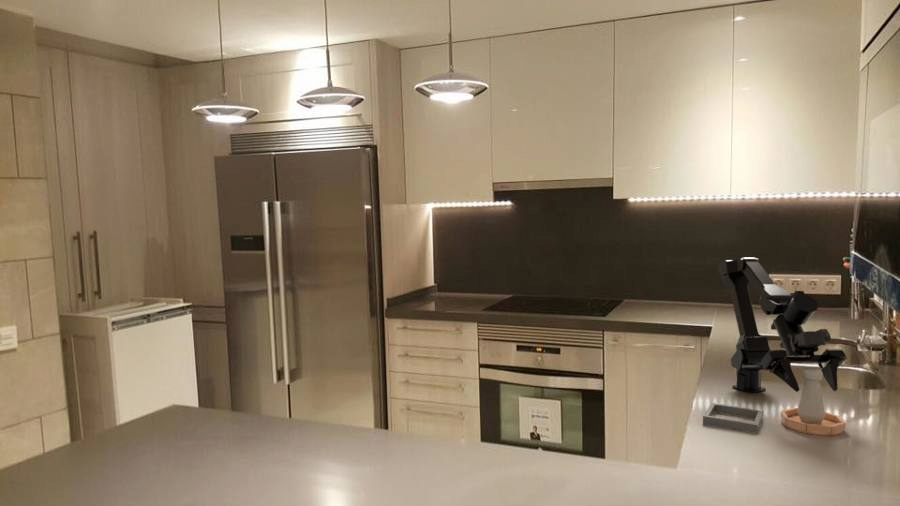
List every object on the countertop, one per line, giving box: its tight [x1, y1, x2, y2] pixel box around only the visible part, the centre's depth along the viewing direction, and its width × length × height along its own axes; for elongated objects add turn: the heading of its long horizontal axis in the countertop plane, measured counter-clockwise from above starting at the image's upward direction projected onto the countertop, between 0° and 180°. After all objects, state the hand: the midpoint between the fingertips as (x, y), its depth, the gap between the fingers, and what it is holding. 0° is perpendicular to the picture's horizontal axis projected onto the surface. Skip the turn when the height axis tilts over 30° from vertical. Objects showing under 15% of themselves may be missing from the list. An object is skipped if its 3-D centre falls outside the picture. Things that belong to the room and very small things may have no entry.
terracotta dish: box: [779, 407, 847, 437], centre depth 151 cm, size 13×13×2 cm
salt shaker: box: [797, 367, 826, 425], centre depth 151 cm, size 6×6×13 cm
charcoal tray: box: [702, 402, 764, 434], centre depth 155 cm, size 12×12×2 cm
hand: (816, 390), depth 149 cm, fingers open, 9 cm apart
